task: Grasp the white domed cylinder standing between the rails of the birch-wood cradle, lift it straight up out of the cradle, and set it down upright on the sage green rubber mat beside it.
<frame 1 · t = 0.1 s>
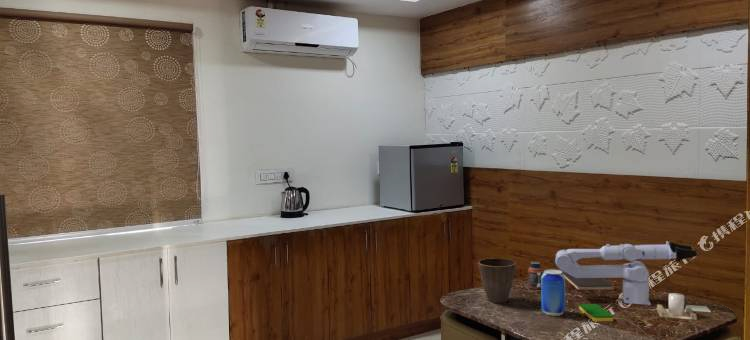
hand: (694, 251, 204), 22 cm above the table, tool horizontal, fingers open, 7 cm apart
mat: (698, 309, 201), on the table
white domed cylinder: (676, 313, 196), resting on cradle
dish sponge: (595, 316, 198), on the table
beer can: (553, 313, 201), on the table
cradle: (676, 315, 196), on the table
supplement bottle: (535, 288, 235), on the table
plant pot: (497, 300, 218), on the table
hardcover book: (587, 284, 241), on the table
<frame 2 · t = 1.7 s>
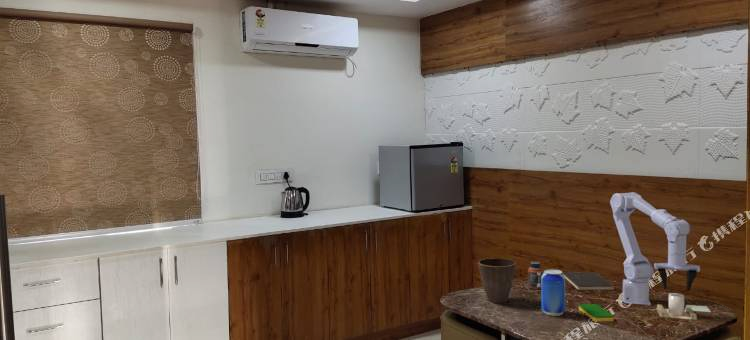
hand: (676, 289, 195), 10 cm above the table, tool pointing down, fingers open, 7 cm apart
nothing on the table moved.
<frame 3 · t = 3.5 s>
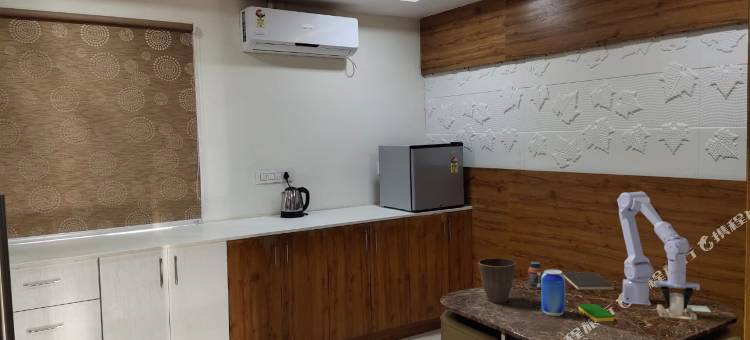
hand: (676, 307, 196), 3 cm above the table, tool pointing down, fingers closed on white domed cylinder, 5 cm apart
white domed cylinder: (676, 313, 196), point 1 cm above the table, touching cradle, gripper
everything else where it was.
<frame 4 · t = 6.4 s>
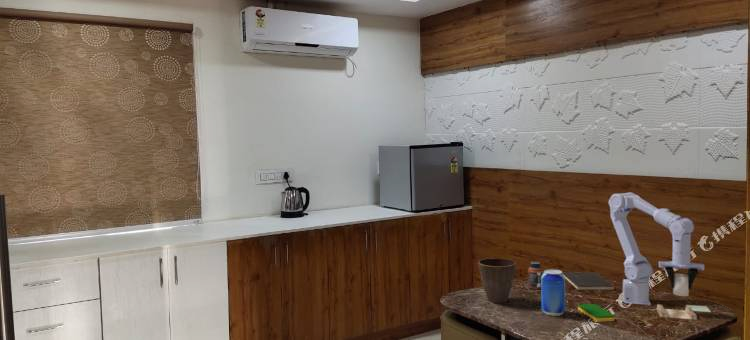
hand: (680, 287, 196), 10 cm above the table, tool pointing down, fingers closed on white domed cylinder, 5 cm apart
white domed cylinder: (680, 294, 197), point 7 cm above the table, touching gripper
everything else where it was.
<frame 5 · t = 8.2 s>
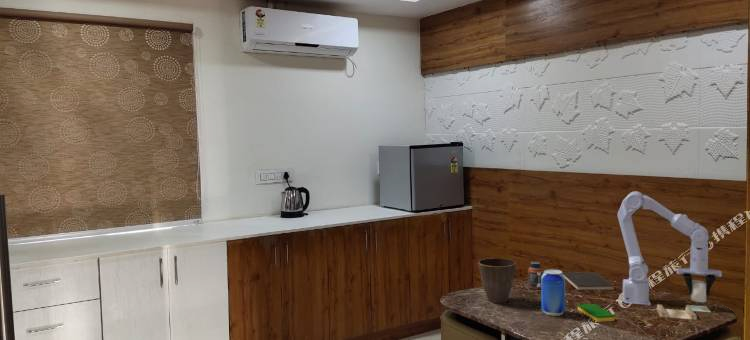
hand: (698, 293, 201), 6 cm above the table, tool pointing down, fingers closed on white domed cylinder, 5 cm apart
white domed cylinder: (698, 300, 201), point 4 cm above the table, touching gripper
everything else where it was.
when the fingers open (4 cm above the table, at t = 9.7 s): white domed cylinder stays where it is, resting on mat.
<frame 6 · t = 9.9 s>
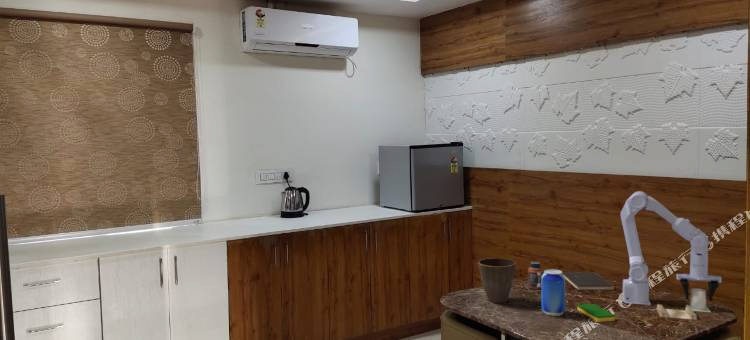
hand: (698, 299, 201), 4 cm above the table, tool pointing down, fingers open, 7 cm apart
white domed cylinder: (698, 308, 201), resting on mat
everything else where it was.
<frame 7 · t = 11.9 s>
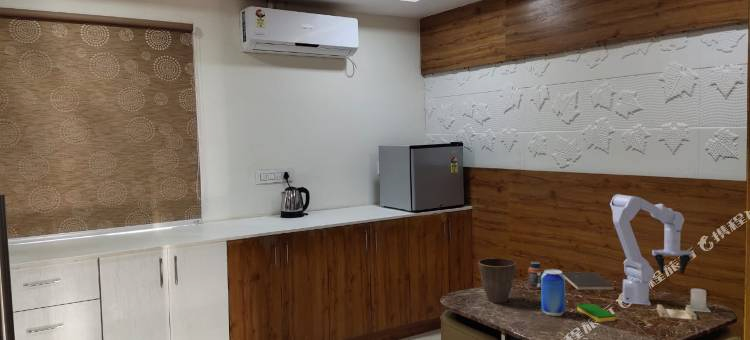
hand: (671, 273, 217), 10 cm above the table, tool pointing down, fingers open, 7 cm apart
nothing on the table moved.
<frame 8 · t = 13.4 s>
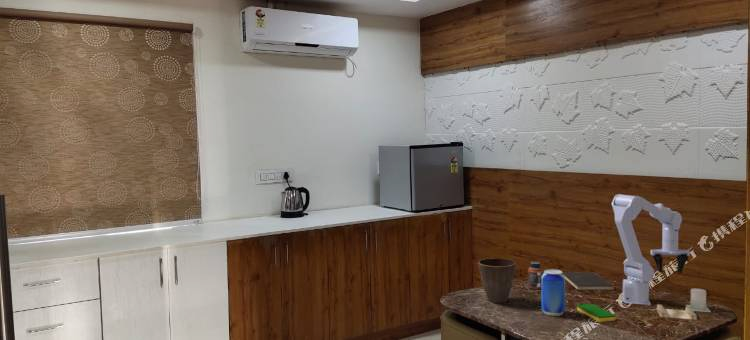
hand: (669, 272, 218), 10 cm above the table, tool pointing down, fingers open, 7 cm apart
nothing on the table moved.
at the end: white domed cylinder 0.1 cm off-centre on the mat, point 0.5 cm above the mat's base; white domed cylinder tilted 0°; the gripper is holding nothing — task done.
